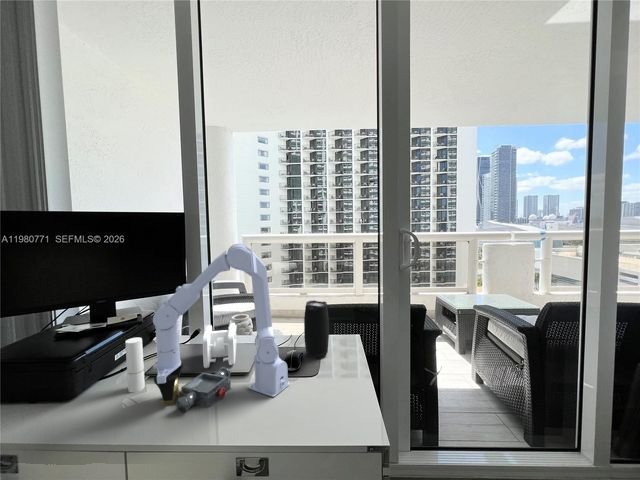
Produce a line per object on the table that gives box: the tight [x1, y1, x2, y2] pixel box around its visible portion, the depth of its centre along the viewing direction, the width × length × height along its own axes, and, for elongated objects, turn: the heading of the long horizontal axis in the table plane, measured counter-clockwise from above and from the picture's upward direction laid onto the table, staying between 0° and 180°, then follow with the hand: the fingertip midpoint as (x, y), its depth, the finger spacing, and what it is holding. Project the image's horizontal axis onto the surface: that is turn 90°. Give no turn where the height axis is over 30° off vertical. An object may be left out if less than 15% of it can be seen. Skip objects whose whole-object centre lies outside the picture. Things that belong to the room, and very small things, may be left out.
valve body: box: [175, 366, 232, 414], centre depth 92 cm, size 18×11×4 cm, turn 160°
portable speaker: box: [303, 300, 330, 360], centre depth 117 cm, size 9×9×20 cm
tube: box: [125, 337, 146, 393], centre depth 96 cm, size 4×4×15 cm
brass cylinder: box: [161, 377, 180, 406], centre depth 89 cm, size 4×4×6 cm
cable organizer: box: [202, 322, 238, 369], centre depth 114 cm, size 15×11×12 cm
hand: (170, 395), depth 89 cm, fingers closed on brass cylinder, 4 cm apart
